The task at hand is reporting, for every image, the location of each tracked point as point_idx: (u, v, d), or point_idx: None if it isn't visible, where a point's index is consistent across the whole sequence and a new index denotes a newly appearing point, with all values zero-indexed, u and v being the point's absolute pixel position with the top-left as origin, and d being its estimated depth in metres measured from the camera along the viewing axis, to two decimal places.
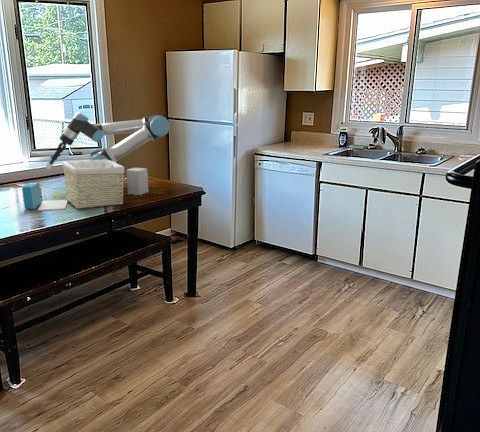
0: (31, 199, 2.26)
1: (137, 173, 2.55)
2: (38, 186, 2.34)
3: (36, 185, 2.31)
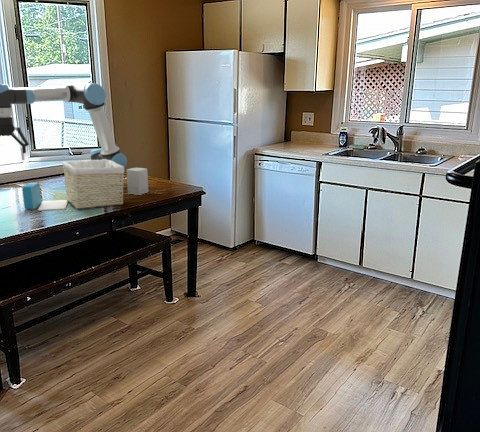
0: (31, 199, 2.26)
1: (137, 173, 2.55)
2: (38, 186, 2.34)
3: (36, 185, 2.31)
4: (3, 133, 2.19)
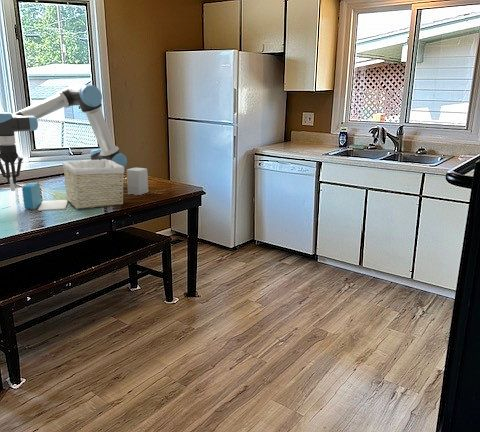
0: (31, 199, 2.26)
1: (137, 173, 2.55)
2: (38, 186, 2.34)
3: (36, 185, 2.31)
4: (6, 160, 2.22)
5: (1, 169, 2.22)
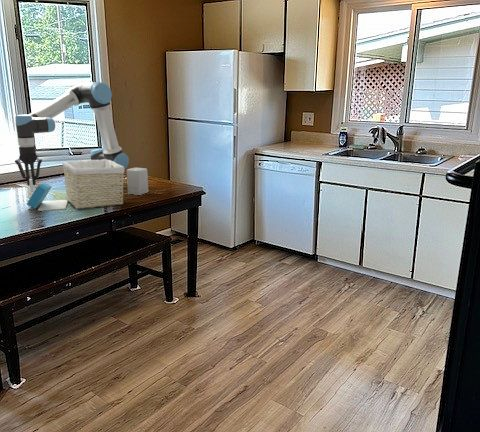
0: (38, 200, 2.26)
1: (137, 173, 2.55)
2: (49, 189, 2.35)
3: (49, 188, 2.32)
4: None
5: (21, 170, 2.25)
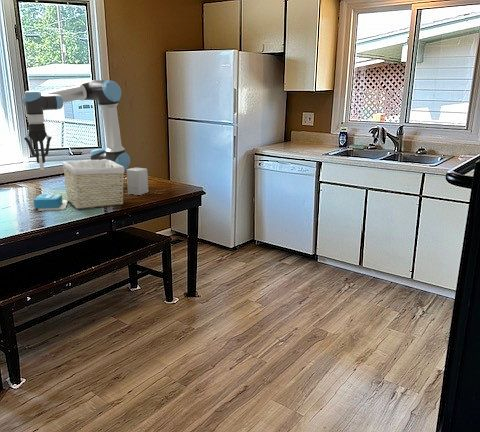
0: (44, 207, 2.28)
1: (137, 173, 2.55)
2: None
3: None
4: (36, 139, 2.23)
5: (30, 148, 2.24)
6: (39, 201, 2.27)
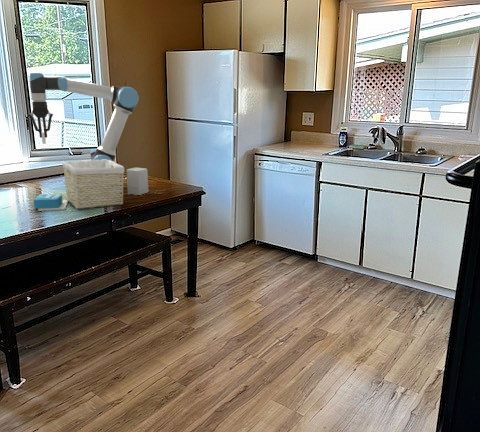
0: (44, 207, 2.28)
1: (137, 173, 2.55)
2: None
3: None
4: (39, 115, 2.49)
5: (34, 123, 2.49)
6: (39, 201, 2.27)
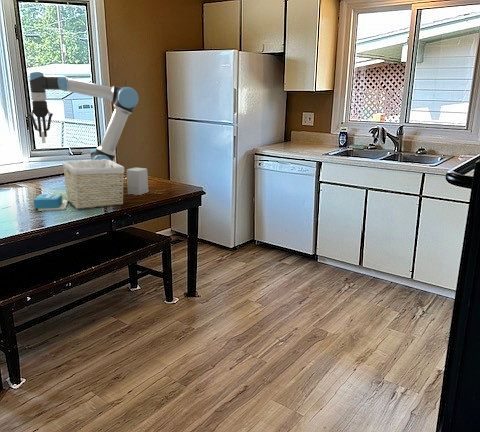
0: (44, 207, 2.28)
1: (137, 173, 2.55)
2: None
3: None
4: (39, 115, 2.49)
5: (34, 123, 2.50)
6: (39, 201, 2.27)
